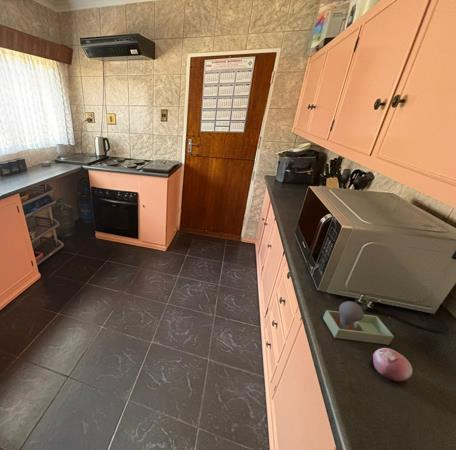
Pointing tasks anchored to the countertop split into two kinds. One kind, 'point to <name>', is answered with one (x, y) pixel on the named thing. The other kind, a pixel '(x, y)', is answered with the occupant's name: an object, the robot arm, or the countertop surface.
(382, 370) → the onion
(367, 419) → the countertop surface
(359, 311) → the light bulb
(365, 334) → the tray
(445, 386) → the countertop surface
